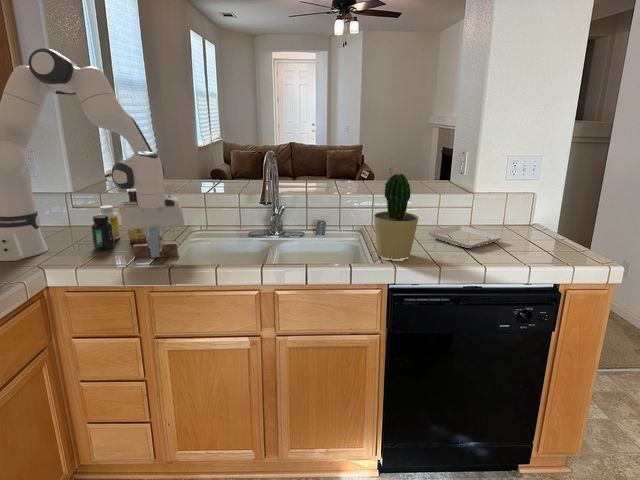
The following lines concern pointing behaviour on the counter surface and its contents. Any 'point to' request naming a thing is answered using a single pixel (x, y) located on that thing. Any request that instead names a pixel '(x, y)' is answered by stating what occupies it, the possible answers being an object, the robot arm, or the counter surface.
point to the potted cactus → (395, 221)
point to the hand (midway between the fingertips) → (155, 240)
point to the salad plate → (444, 231)
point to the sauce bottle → (135, 234)
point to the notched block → (167, 251)
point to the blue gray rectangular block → (154, 241)
